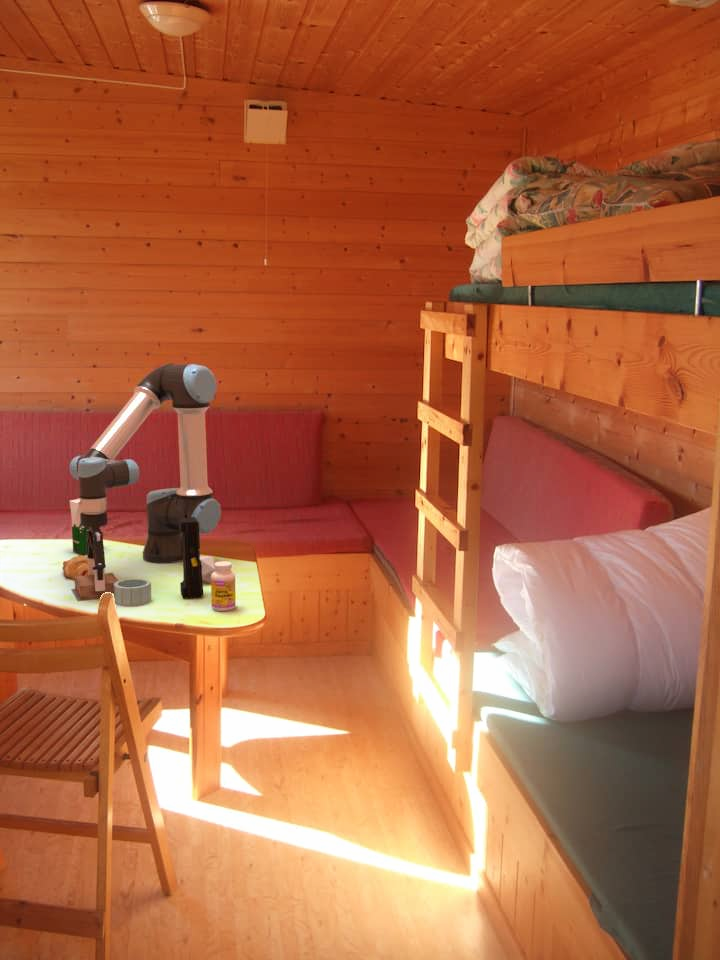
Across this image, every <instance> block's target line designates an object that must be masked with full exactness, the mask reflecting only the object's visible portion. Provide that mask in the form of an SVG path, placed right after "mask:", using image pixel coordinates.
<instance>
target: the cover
mask: <svg viewBox="0 0 720 960" xmlns="http://www.w3.org/2000/svg"><path fill="white" fill-rule="evenodd" d="M74 578H75V580H74V589H75V591H76V592H77V594H78V596H79V598H80V600H85V599H93V598H100V597H101V595H102V594H103V593H105V592H111V593H113V594H114V583H115V582H117V581H119V580H118V579H117V577H116V576H115V574H114V573H113V572H105V590H104V591H95V575H85V576H76V577H74Z"/></svg>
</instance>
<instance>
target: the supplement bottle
mask: <svg viewBox="0 0 720 960" xmlns="http://www.w3.org/2000/svg"><path fill="white" fill-rule="evenodd" d="M232 569H233V568H232V562H230V561H217V562H216V563H215V572H213V573H212V575H211V583H210V587H211V589H210V590H211V591H210V594H211V599H210V600H211V608H212V609H213V610H214V611H217V612H228V611H232V610H234V609H235V608H236V574H235V572H233V571H232Z"/></svg>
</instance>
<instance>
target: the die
mask: <svg viewBox="0 0 720 960" xmlns="http://www.w3.org/2000/svg"><path fill="white" fill-rule="evenodd" d="M200 561H201V564H202V583H203V584H211V575H212V573H213V572H215V563H217V562H216V560H215V558H214V556H209V555H205V556H204V555H200Z"/></svg>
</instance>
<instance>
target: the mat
mask: <svg viewBox="0 0 720 960" xmlns="http://www.w3.org/2000/svg"><path fill="white" fill-rule="evenodd" d="M71 591H72V594H73V595H74V597H75V599H76V601H77V602H84V601H93V600H101V599H100V598H93V599H85V600H80V598H79V596H78V594H77V592H76V591H75V588H71Z"/></svg>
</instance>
